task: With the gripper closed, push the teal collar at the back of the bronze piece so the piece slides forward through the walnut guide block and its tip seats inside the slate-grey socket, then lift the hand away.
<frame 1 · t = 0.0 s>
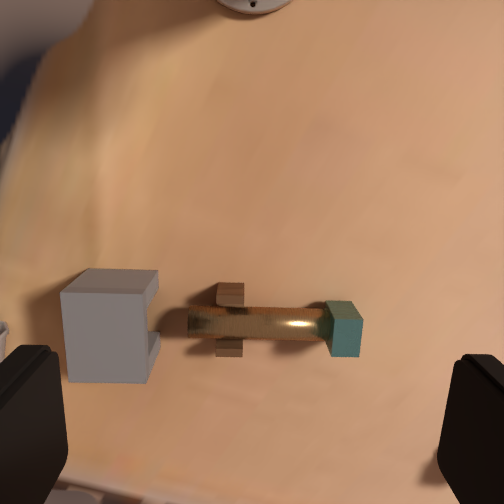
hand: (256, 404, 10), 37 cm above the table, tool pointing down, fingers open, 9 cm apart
guide block: (230, 311, 49), on the table
bronze piece: (272, 326, 45), point 4 cm above the table, slide at 0.0 cm
socket block: (125, 309, 48), on the table
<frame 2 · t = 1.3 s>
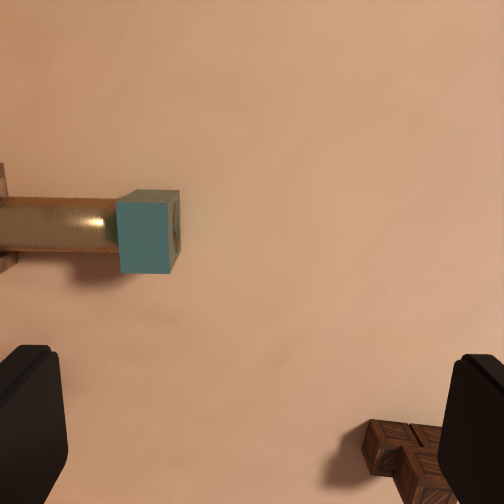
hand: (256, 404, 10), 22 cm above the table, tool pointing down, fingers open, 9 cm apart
wooden blocks: (399, 444, 38), on the table
bronze piece: (32, 226, 27), point 4 cm above the table, slide at 0.0 cm
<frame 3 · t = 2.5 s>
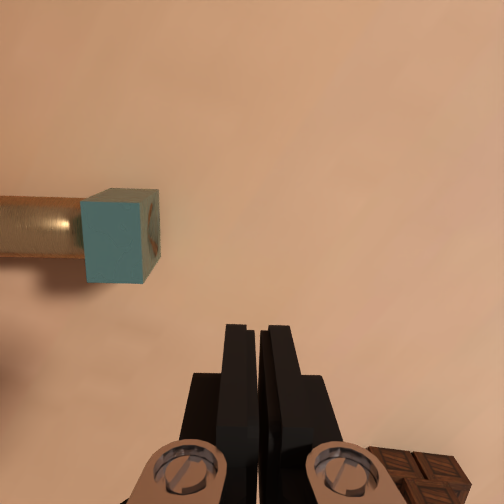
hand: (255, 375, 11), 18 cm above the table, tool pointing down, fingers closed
wooden blocks: (400, 473, 35), on the table
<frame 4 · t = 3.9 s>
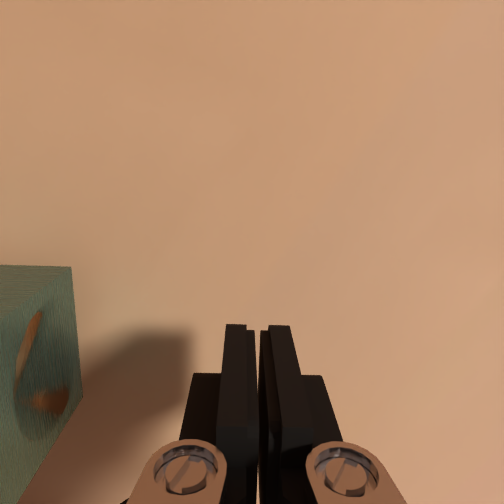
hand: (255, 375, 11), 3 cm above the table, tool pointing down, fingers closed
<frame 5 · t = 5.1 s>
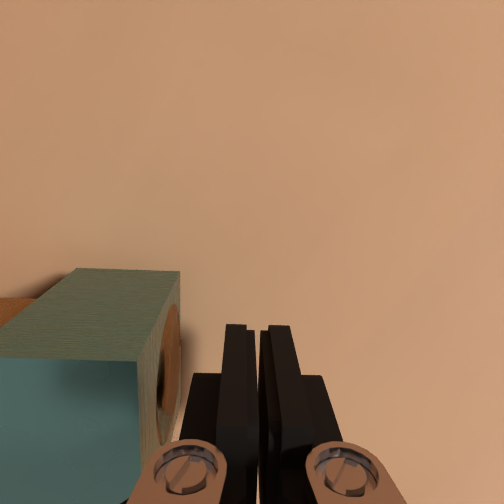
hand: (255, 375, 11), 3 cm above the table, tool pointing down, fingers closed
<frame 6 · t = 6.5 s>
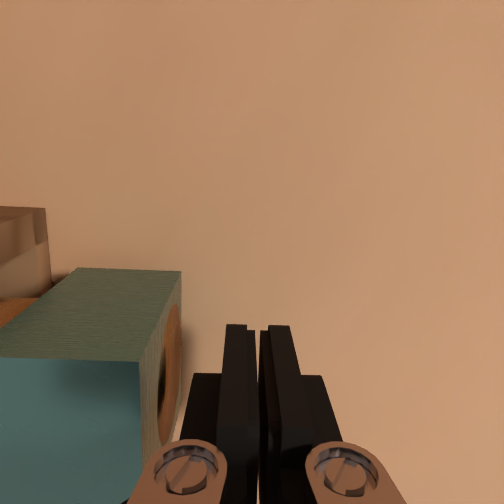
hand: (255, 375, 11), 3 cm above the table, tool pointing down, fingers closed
guide block: (9, 317, 13), on the table
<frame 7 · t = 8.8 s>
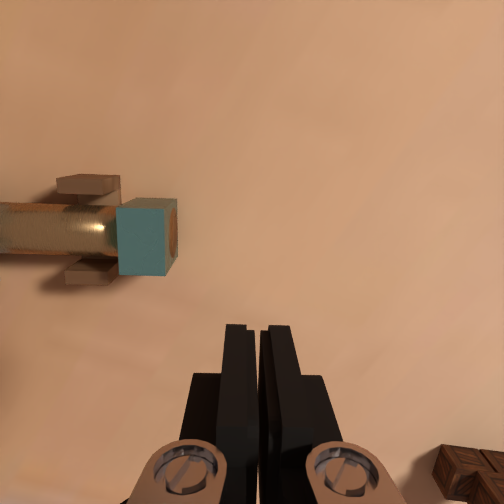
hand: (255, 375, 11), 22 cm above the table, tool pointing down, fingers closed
wooden blocks: (466, 469, 39), on the table
guide block: (102, 222, 32), on the table
bronze piece: (37, 231, 28), point 4 cm above the table, slide at 8.0 cm
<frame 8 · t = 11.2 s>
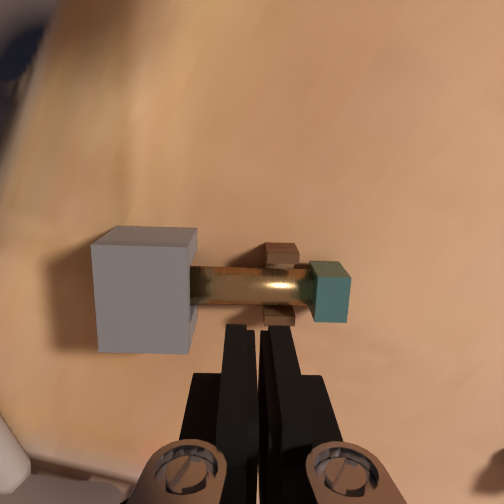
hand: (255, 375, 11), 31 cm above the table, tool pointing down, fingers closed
guide block: (278, 276, 43), on the table
bronze piece: (247, 288, 39), point 4 cm above the table, slide at 8.0 cm
socket block: (158, 273, 43), on the table
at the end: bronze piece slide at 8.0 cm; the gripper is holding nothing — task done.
